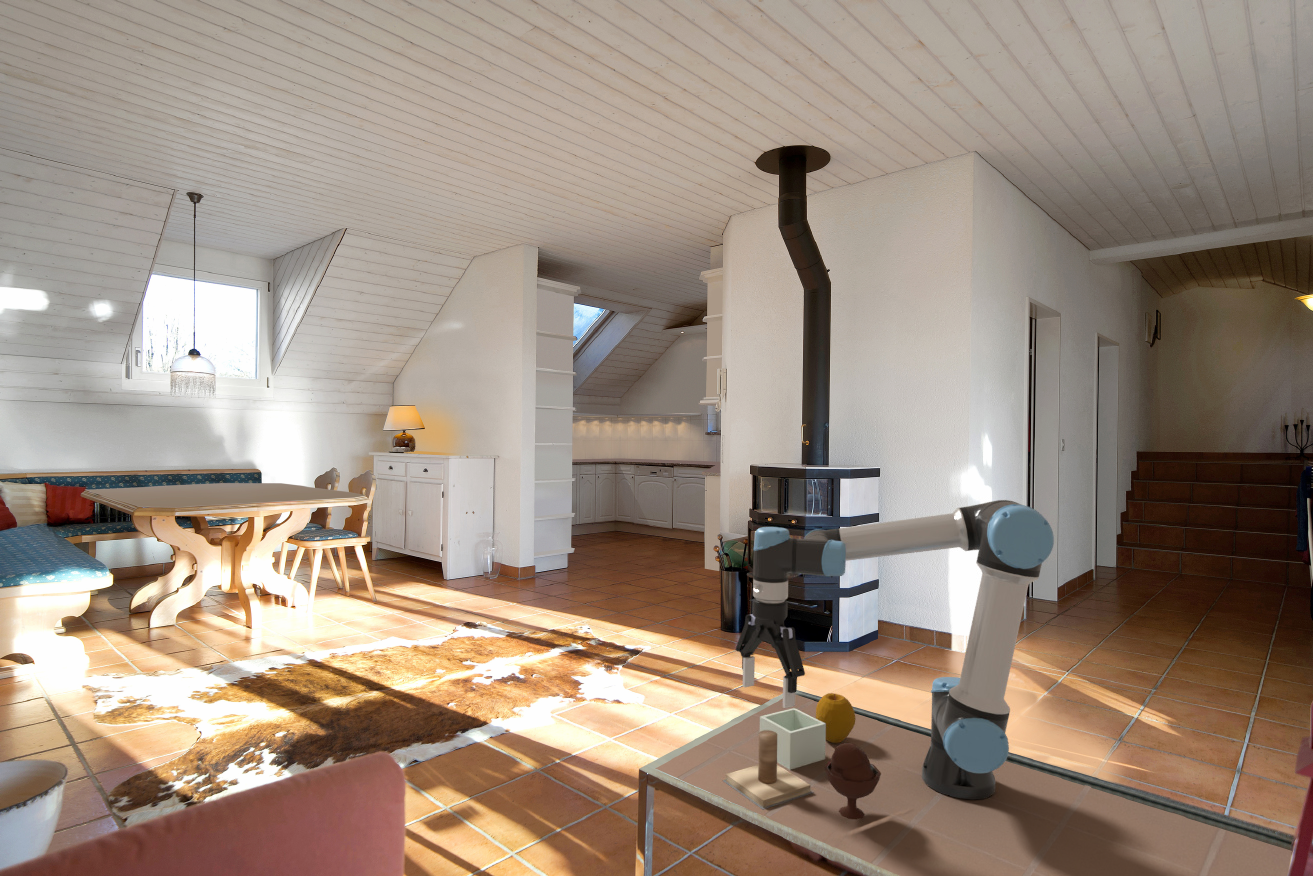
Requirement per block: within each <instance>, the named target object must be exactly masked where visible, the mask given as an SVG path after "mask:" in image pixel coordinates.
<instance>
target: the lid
mask: <svg viewBox="0 0 1313 876" xmlns="http://www.w3.org/2000/svg"><path fill="white" fill-rule="evenodd" d="M725 780H726V782H728V783H729V784H731V785H732V786H733V787H735V788H736V789H738V790H739V791H740V792H742V793H743V794H745V795H746V796H747V797H749V798H750V799H752V800H753V801H755V802H756V803H757V804H759V805H760V806H762V807H763V808H764V807H767V806H770V805H773V804H776V803H779V802H782V801H785V800H788V799H791V798H794V797H797V796H800V795H803V794H806V793H809V792H810V790H811V784H809V783H808V782H807V781H805V780H804V779H801V778H800V777H798V776H796V775H795V774H793V773H792V772H790V771H788V769H785V767H782V766H780V764H779V765H778V762H777V733H776V732H774V731H770V730H764V731H760V730H759V732H758V763H757V764H756V765H752V766H748V767H745V768H742V769H739V770H736V771H732V772H728V773H725Z"/></svg>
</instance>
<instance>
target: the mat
mask: <svg viewBox="0 0 1313 876" xmlns="http://www.w3.org/2000/svg"><path fill="white" fill-rule="evenodd" d="M722 781H723V783H725V784H726V785H727V786H729V787H731V788H732V789H733V790H735V791H736V792H738V793H739V794H740V795H742V796H743V797H745V799H748V800H749V801H750V802H751V803H753V804H754V805H755V806H757V807H759V808H760V809H761V810H766V809H768V808H771V807H774V806H777V805H781V804H784V803H787V802H790V801H792V800H796V799H799V798H802V797H805V796H808V795H811V794H814V793H815V792H814V791H812V790H811V789H810V792H809V793H806V794H803V795H800V796H797V797H794V798H791V799H788V800H785V801H782V802H779V803H776V804H773V805H770V806H767V807H764V808H763V807H762V806H760V805H759V804H757V803H756V802H755V801H753V800H752V799H750V798H749V797H747V796H746V795H745V794H743V793H742V792H740V791H739V790H738V789H736V788H735V787H733V786H732V785H731V784H729V783H728V782H726V779H724V780H722Z"/></svg>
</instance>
